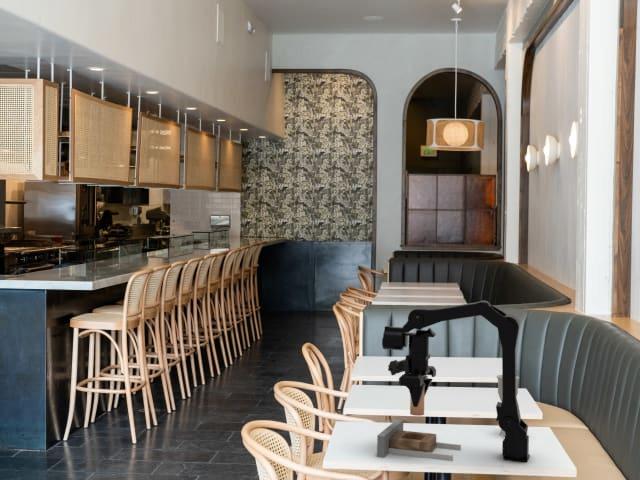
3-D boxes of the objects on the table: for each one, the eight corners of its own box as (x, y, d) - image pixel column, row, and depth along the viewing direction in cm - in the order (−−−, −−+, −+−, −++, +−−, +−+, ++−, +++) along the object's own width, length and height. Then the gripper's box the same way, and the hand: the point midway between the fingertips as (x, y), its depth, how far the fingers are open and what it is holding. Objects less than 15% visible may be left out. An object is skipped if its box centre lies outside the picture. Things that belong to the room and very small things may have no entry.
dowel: (425, 413, 234) (426, 382, 234) (421, 416, 230) (422, 384, 230) (412, 411, 236) (412, 381, 235) (408, 414, 232) (408, 383, 232)
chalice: (523, 436, 248) (524, 378, 247) (504, 438, 245) (505, 379, 245) (509, 430, 254) (510, 374, 254) (491, 432, 252) (491, 375, 251)
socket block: (436, 447, 234) (436, 434, 234) (428, 457, 225) (428, 442, 225) (399, 443, 238) (399, 430, 238) (390, 452, 229) (390, 438, 229)
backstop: (463, 446, 237) (463, 425, 236) (449, 465, 218) (449, 443, 218) (396, 439, 244) (396, 419, 244) (377, 456, 225) (377, 435, 225)
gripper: (401, 344, 244) (399, 396, 245) (381, 354, 227) (380, 409, 227) (437, 347, 240) (435, 399, 240) (420, 357, 223) (419, 413, 223)
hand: (417, 405), depth 233 cm, fingers closed on dowel, 4 cm apart
